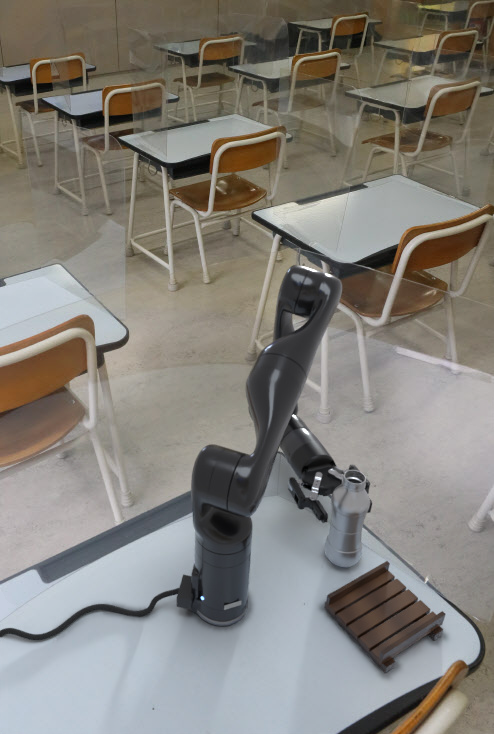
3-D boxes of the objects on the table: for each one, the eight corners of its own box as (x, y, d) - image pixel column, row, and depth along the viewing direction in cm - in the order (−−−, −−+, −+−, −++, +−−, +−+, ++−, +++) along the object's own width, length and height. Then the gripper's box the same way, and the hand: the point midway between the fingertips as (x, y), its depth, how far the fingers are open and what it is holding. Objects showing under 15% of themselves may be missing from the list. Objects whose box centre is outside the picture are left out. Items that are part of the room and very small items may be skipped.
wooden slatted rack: (382, 674, 107) (386, 657, 105) (321, 608, 118) (324, 592, 116) (444, 633, 113) (449, 616, 111) (380, 574, 124) (384, 558, 122)
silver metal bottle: (361, 574, 124) (376, 492, 114) (322, 569, 125) (335, 487, 115) (359, 547, 129) (374, 466, 119) (322, 542, 130) (334, 461, 120)
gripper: (275, 448, 132) (313, 507, 118) (341, 434, 135) (386, 490, 121) (272, 477, 136) (309, 538, 122) (337, 463, 139) (380, 521, 125)
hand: (347, 514), depth 122 cm, fingers open, 8 cm apart
